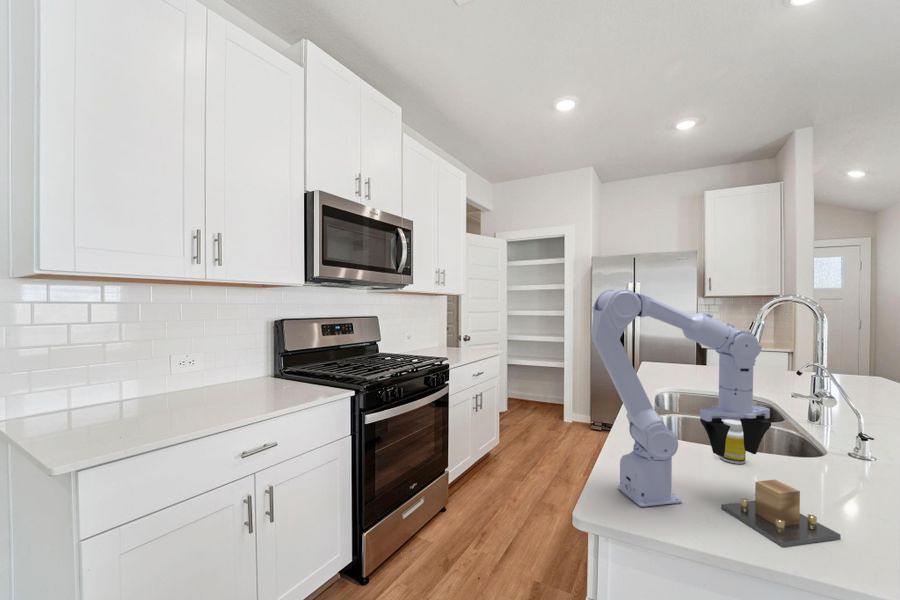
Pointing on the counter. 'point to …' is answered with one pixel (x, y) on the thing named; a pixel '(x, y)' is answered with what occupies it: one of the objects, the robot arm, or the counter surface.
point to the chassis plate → (781, 526)
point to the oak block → (777, 502)
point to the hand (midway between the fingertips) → (734, 453)
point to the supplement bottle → (734, 443)
